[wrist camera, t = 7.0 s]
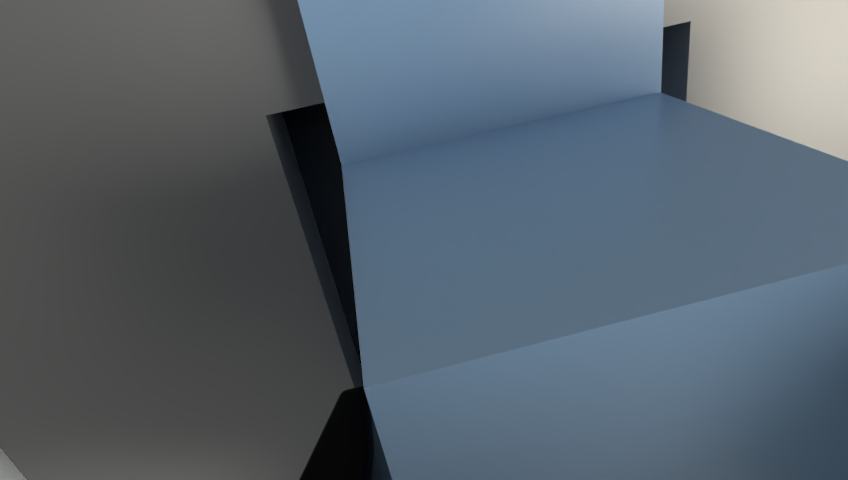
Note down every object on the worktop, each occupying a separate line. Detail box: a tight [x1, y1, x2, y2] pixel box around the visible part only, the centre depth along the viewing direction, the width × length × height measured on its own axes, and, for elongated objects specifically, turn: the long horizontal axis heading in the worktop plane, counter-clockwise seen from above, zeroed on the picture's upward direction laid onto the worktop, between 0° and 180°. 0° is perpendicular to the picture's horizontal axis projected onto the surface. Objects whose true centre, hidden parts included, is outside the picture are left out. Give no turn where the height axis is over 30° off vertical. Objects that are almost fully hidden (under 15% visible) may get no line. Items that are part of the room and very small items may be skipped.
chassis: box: [0, 0, 848, 480], centre depth 9 cm, size 16×16×2 cm
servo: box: [297, 0, 848, 480], centre depth 7 cm, size 4×11×7 cm, turn 10°
